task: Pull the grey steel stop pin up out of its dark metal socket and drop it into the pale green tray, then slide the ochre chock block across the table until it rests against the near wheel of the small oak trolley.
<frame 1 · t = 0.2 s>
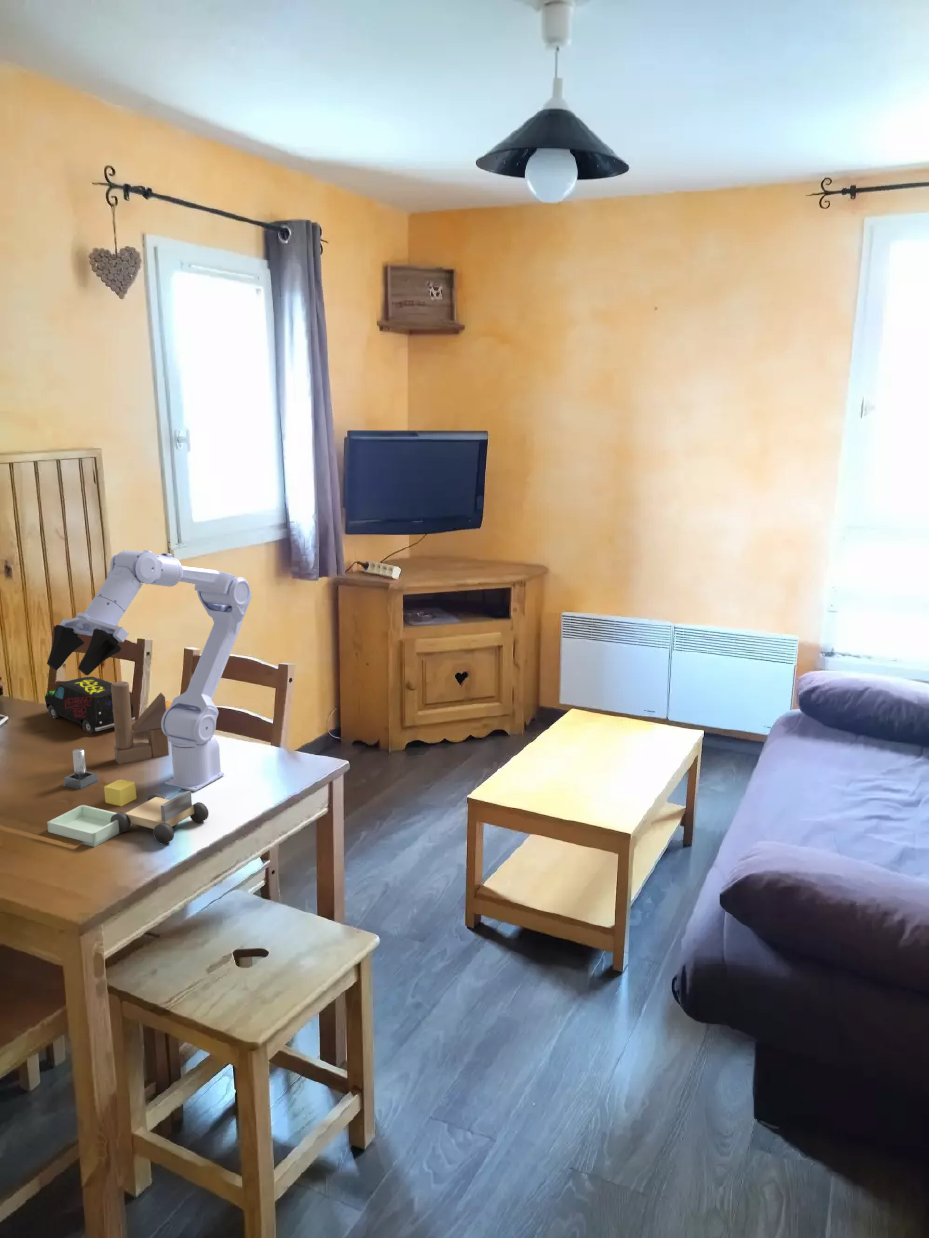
hand: (67, 669, 152), 31 cm above the table, tool tilted 45°, fingers open, 7 cm apart
chock: (121, 803, 173), on the table
tray: (88, 831, 161), on the table
trolley: (160, 826, 163), on the table
toy van: (90, 721, 219), on the table
stop pin: (81, 782, 181), point 1 cm above the table, touching pin socket
pin socket: (81, 785, 181), on the table
wooden block: (142, 760, 195), on the table
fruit: (168, 730, 213), on the table
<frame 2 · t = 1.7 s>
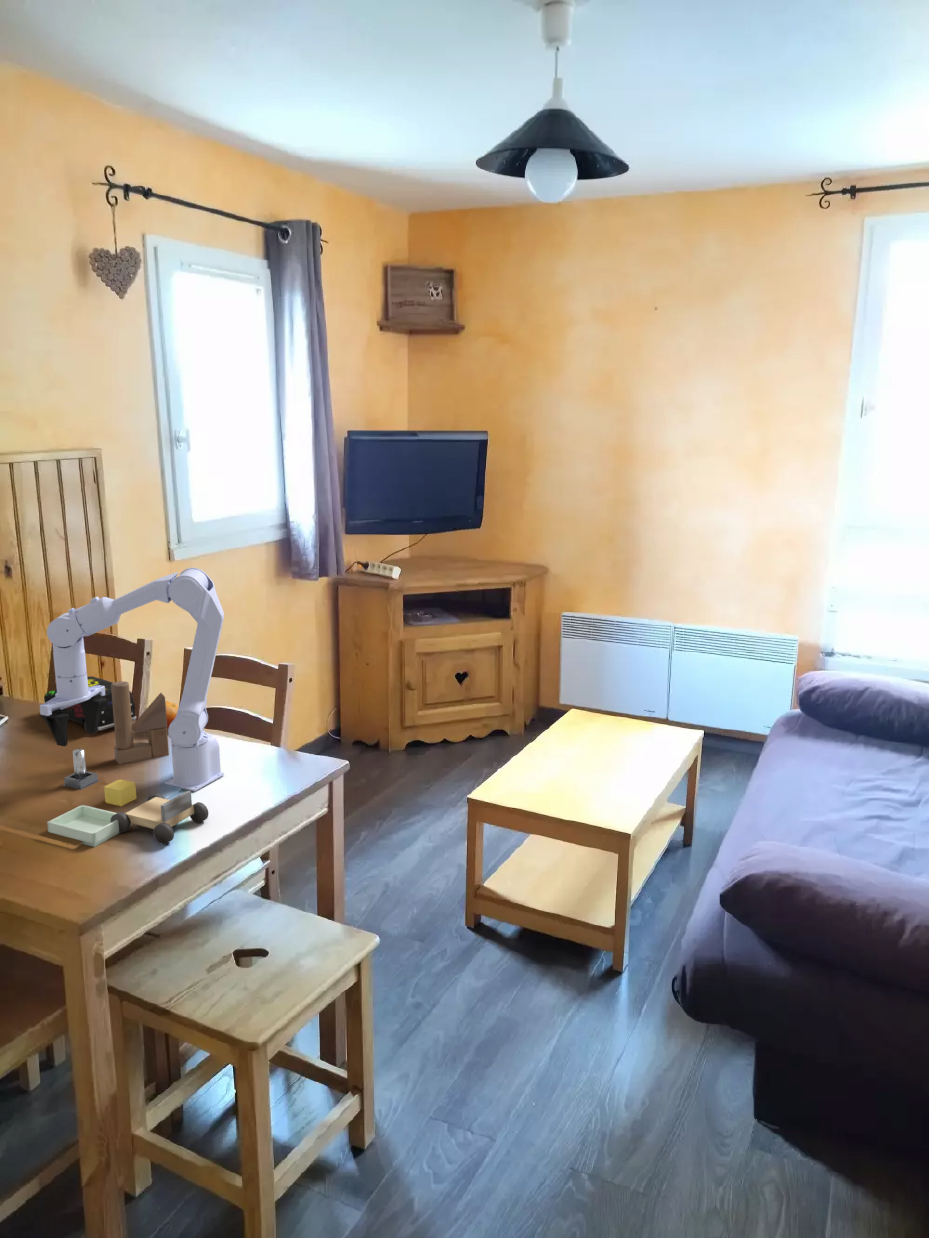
hand: (77, 738, 178), 10 cm above the table, tool pointing down, fingers open, 7 cm apart
nothing on the table moved.
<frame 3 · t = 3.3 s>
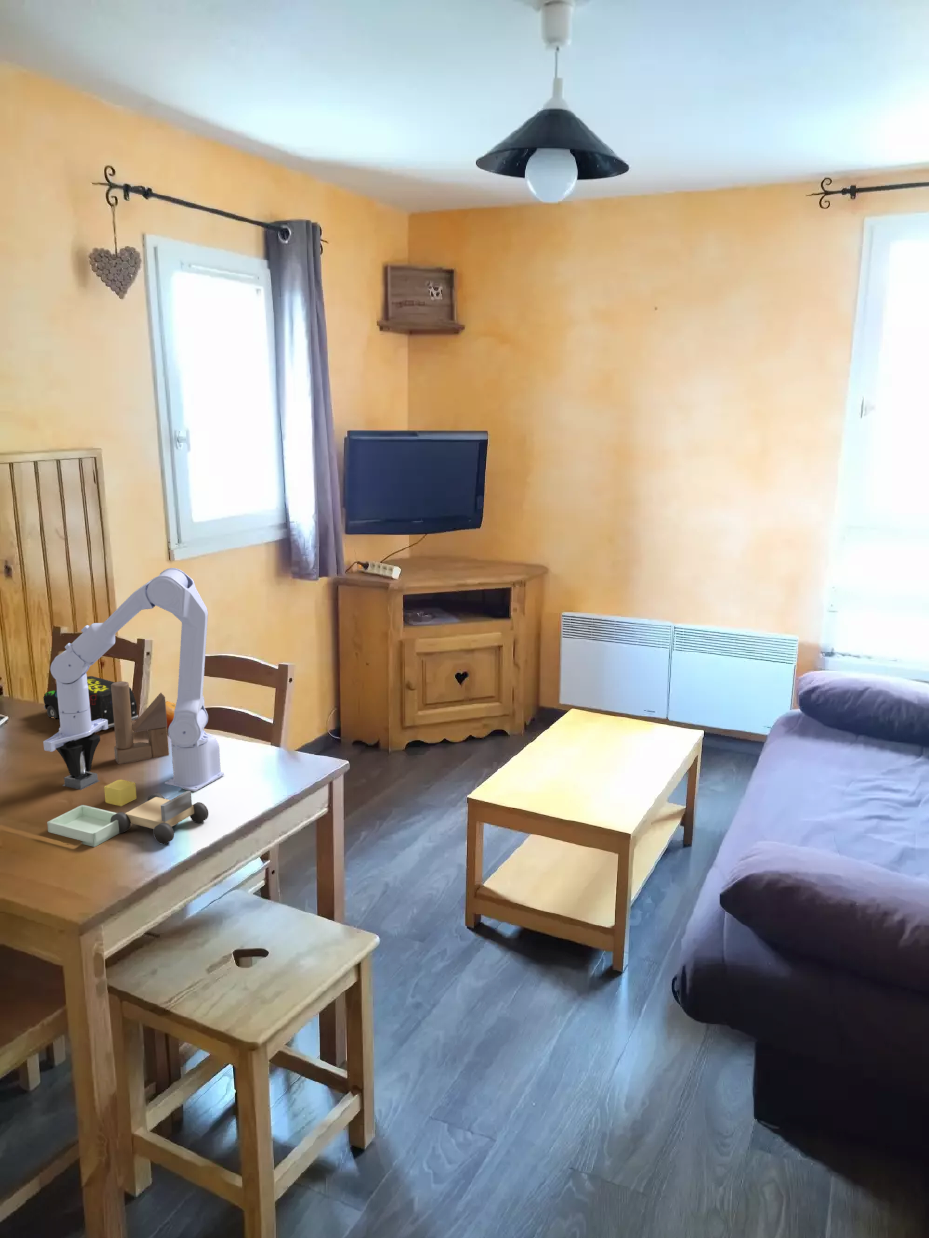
hand: (80, 772, 180), 3 cm above the table, tool pointing down, fingers closed on stop pin, 2 cm apart
stop pin: (81, 782, 181), point 1 cm above the table, touching gripper, pin socket
everything else where it was.
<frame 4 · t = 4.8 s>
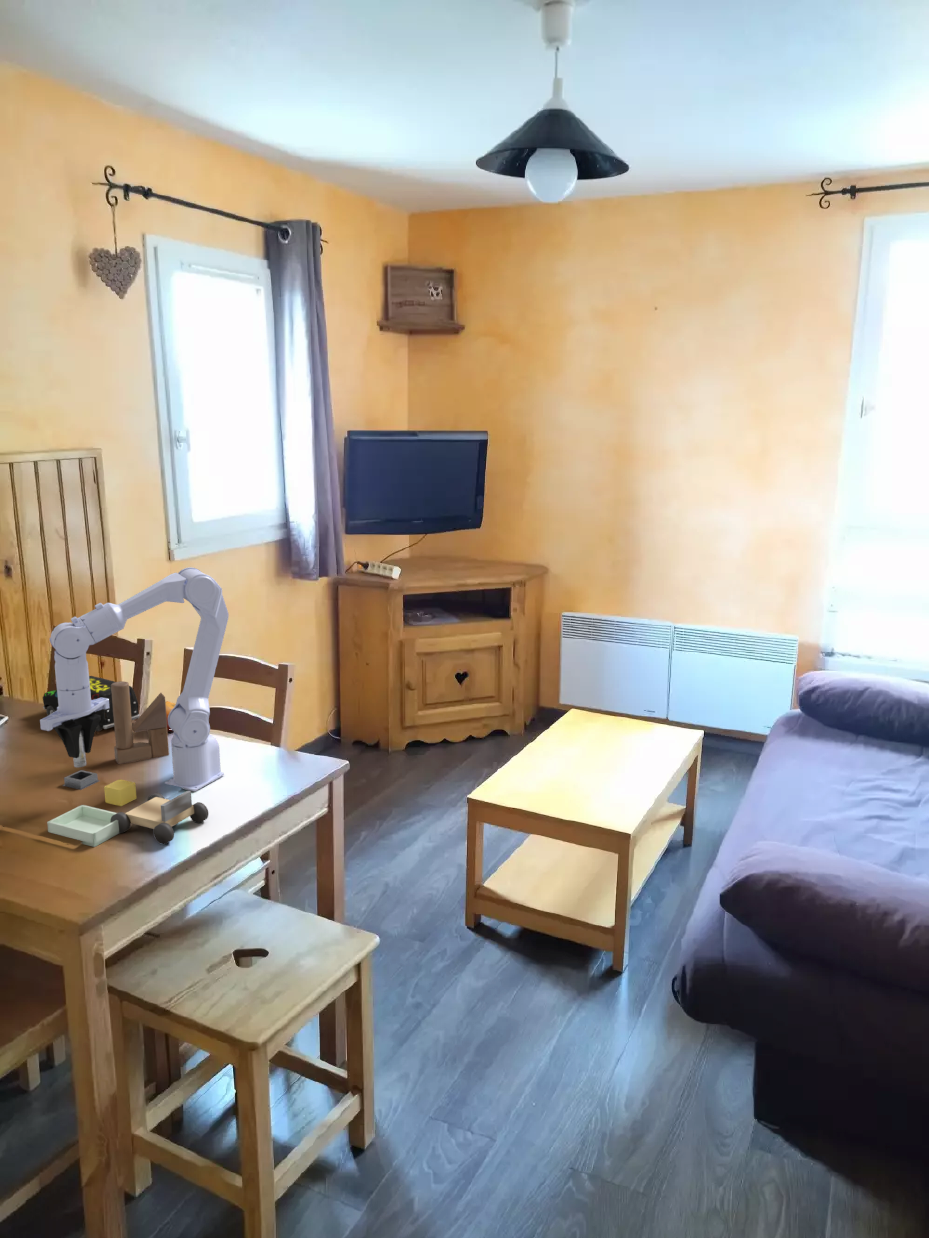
hand: (79, 754, 170), 10 cm above the table, tool pointing down, fingers closed on stop pin, 2 cm apart
stop pin: (80, 765, 171), point 8 cm above the table, touching gripper
when the fingers open (4 cm above the table, at t = 6.5 s): stop pin drops 1 cm, resting on tray.
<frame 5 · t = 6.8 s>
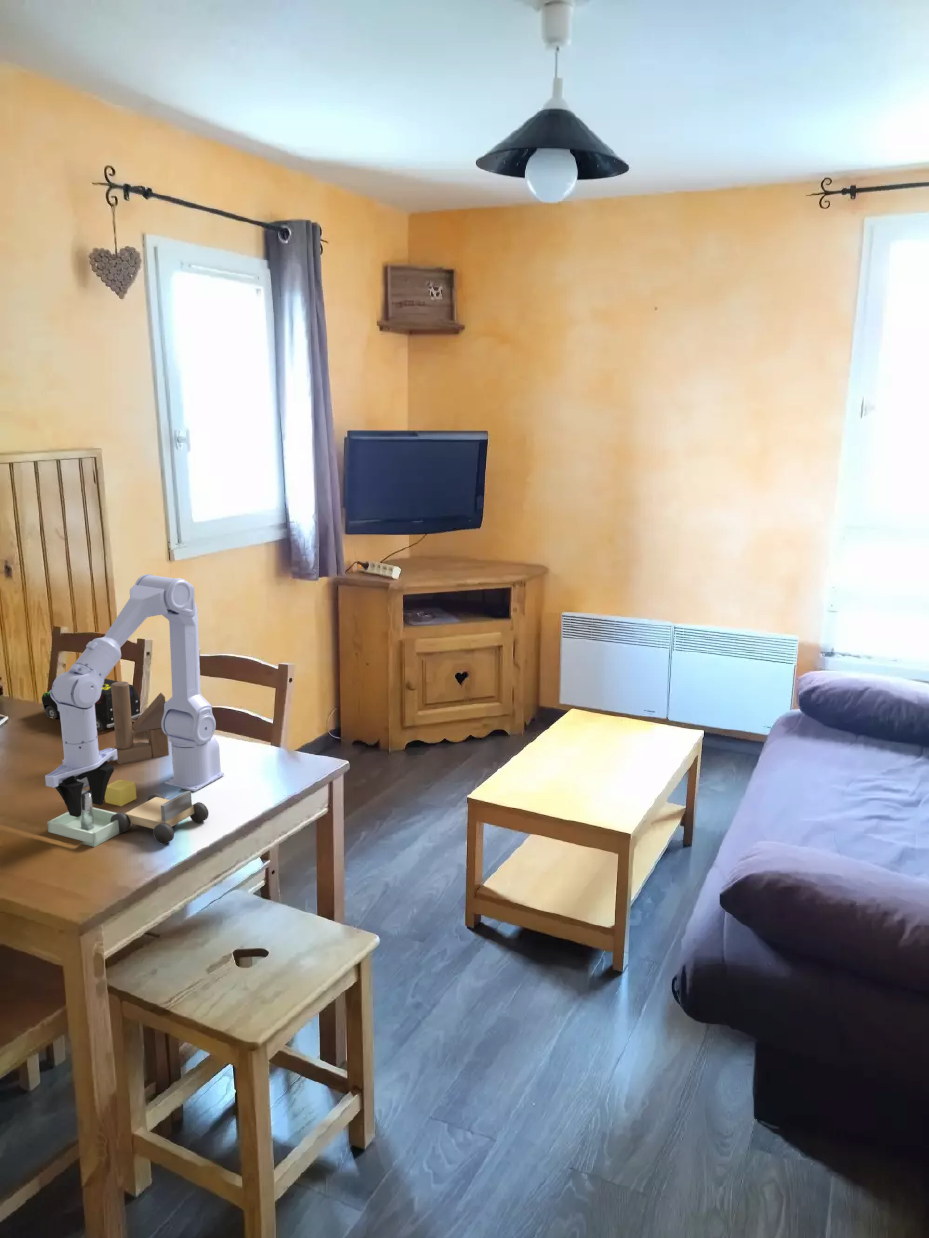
hand: (86, 809, 160), 4 cm above the table, tool pointing down, fingers open, 5 cm apart
stop pin: (87, 827, 161), point 1 cm above the table, touching tray
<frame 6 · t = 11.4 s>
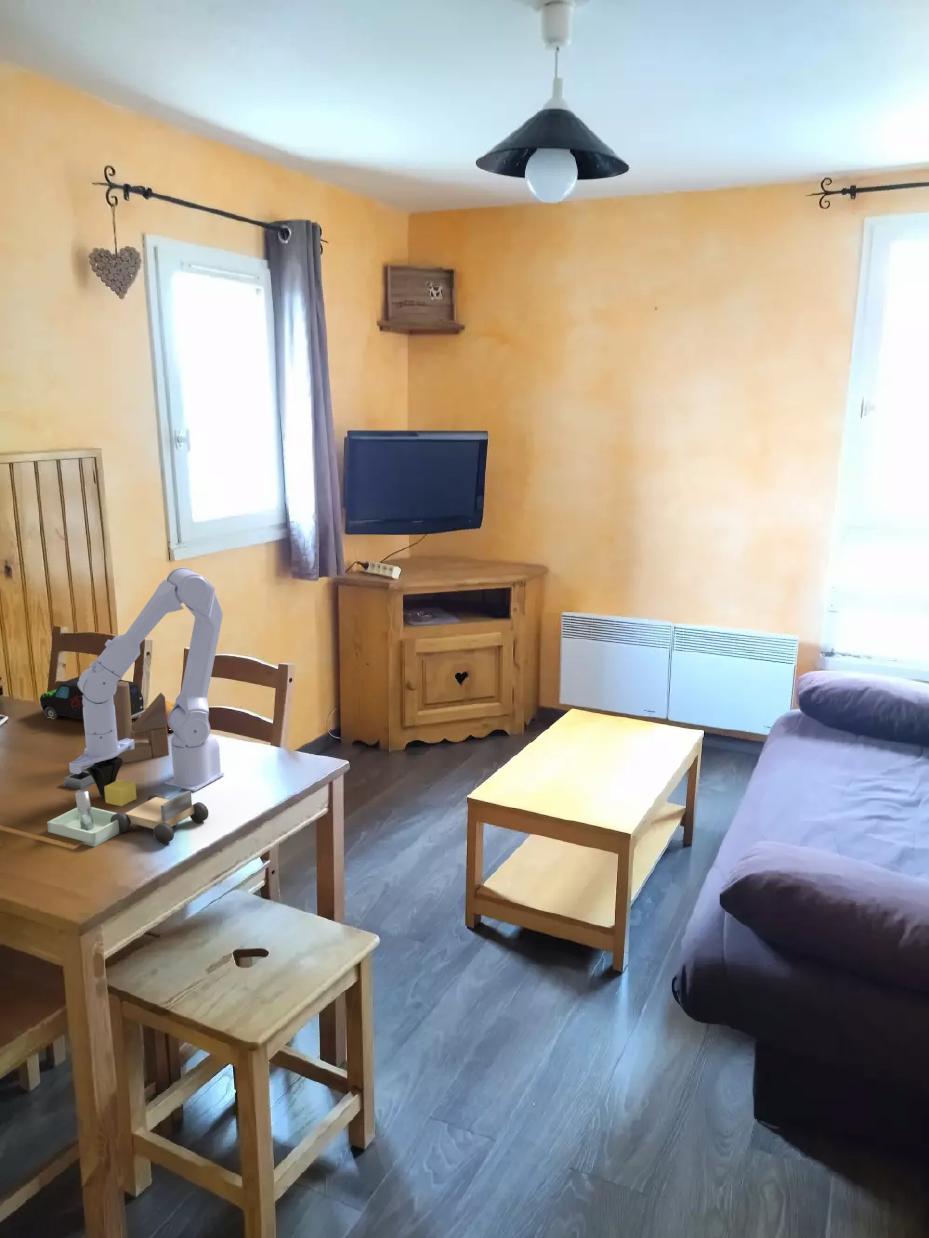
hand: (106, 794, 174), 1 cm above the table, tool pointing down, fingers closed, pressing on chock
chock: (121, 803, 173), on the table, touching gripper
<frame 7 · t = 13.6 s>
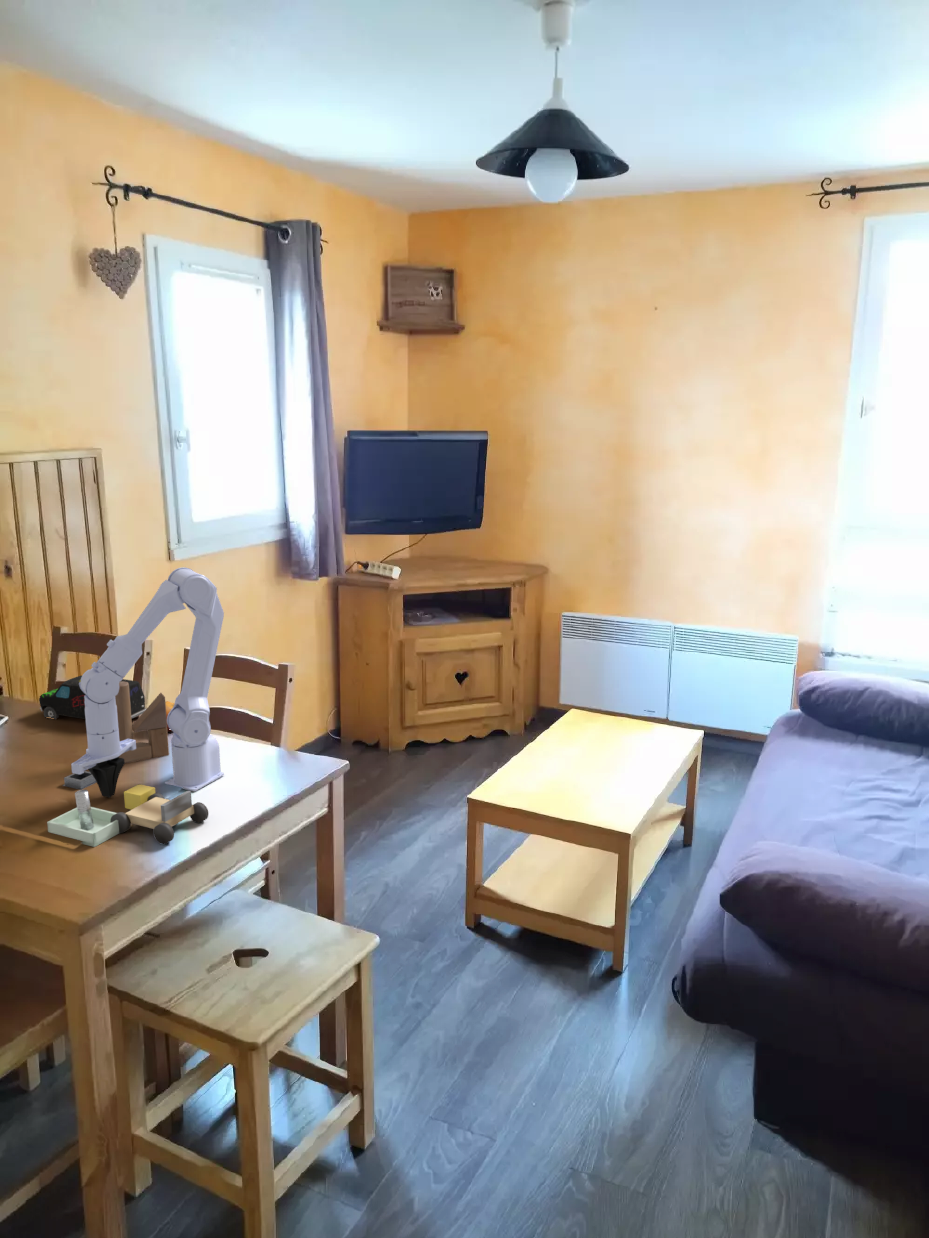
hand: (108, 795, 174), 1 cm above the table, tool pointing down, fingers closed
chock: (141, 809, 171), on the table
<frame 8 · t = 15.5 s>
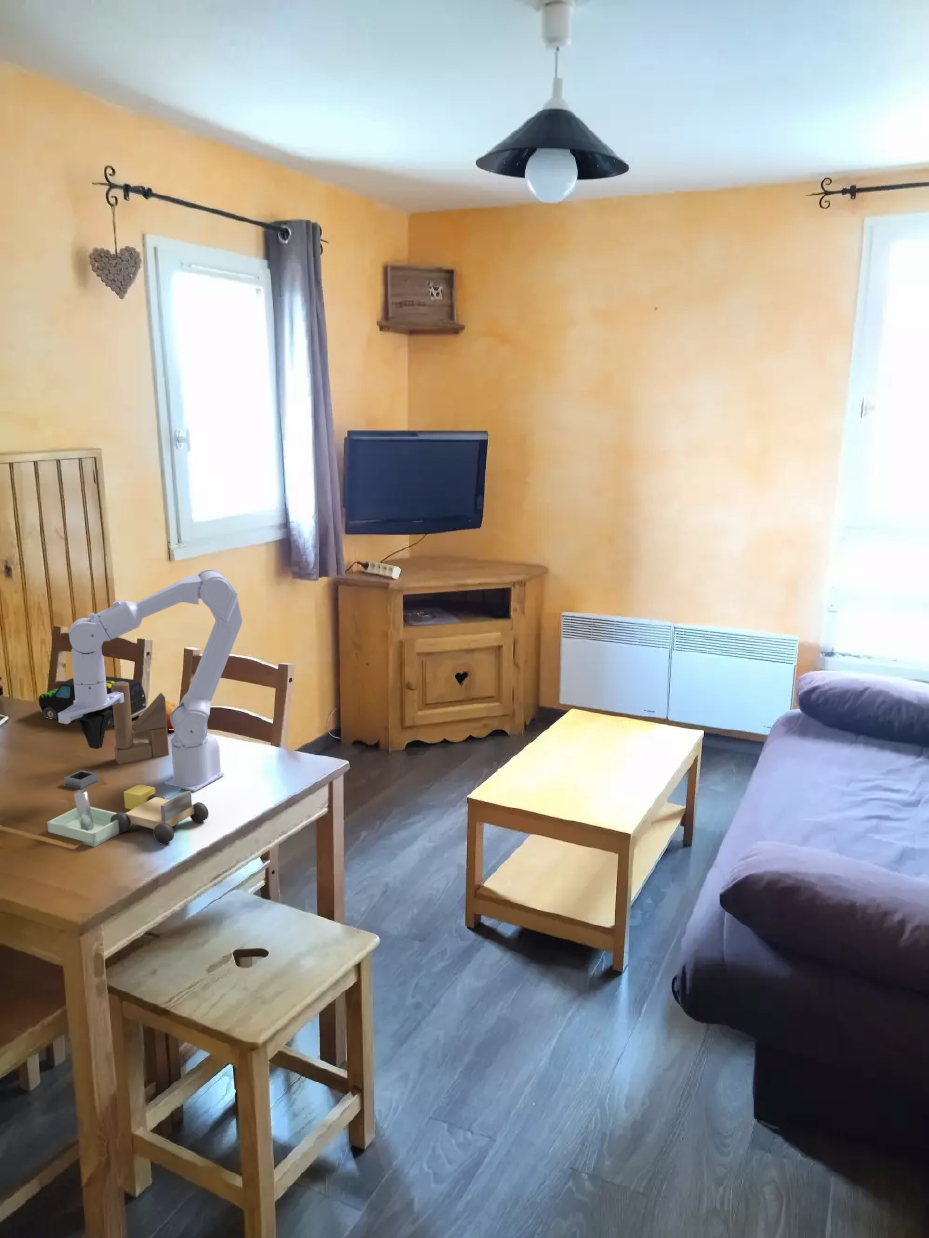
hand: (95, 747, 174), 10 cm above the table, tool pointing down, fingers closed
at the end: stop pin inside the target area on the tray (0.3 cm from its centre), point 0.7 cm above the tray's base; chock 0.2 cm from the target spot, on the table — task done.
